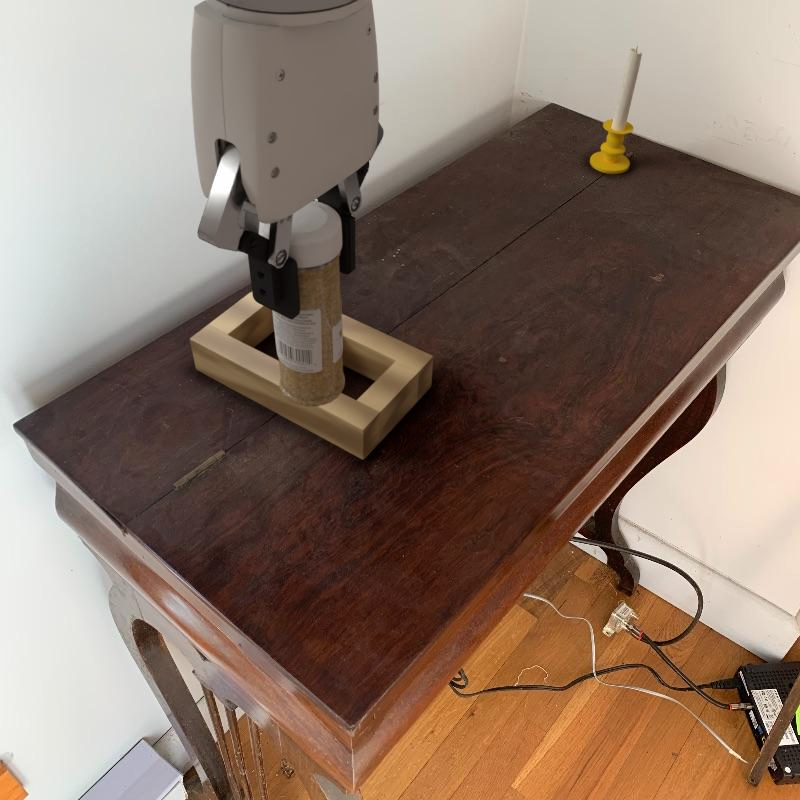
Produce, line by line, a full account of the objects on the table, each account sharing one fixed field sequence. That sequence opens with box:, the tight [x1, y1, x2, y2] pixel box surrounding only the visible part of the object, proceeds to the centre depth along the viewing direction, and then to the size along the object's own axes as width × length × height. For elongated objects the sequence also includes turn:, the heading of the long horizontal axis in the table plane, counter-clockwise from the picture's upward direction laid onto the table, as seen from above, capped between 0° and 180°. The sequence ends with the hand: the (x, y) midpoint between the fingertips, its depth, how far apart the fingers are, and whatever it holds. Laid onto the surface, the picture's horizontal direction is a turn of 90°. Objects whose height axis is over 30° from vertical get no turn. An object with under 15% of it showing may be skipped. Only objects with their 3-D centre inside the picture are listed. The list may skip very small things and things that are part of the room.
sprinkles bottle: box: [261, 200, 346, 407], centre depth 50 cm, size 5×5×14 cm
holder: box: [189, 291, 434, 461], centre depth 76 cm, size 11×20×4 cm, turn 56°
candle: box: [589, 45, 643, 175], centre depth 102 cm, size 5×5×16 cm
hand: (305, 283), depth 49 cm, fingers closed on sprinkles bottle, 4 cm apart
